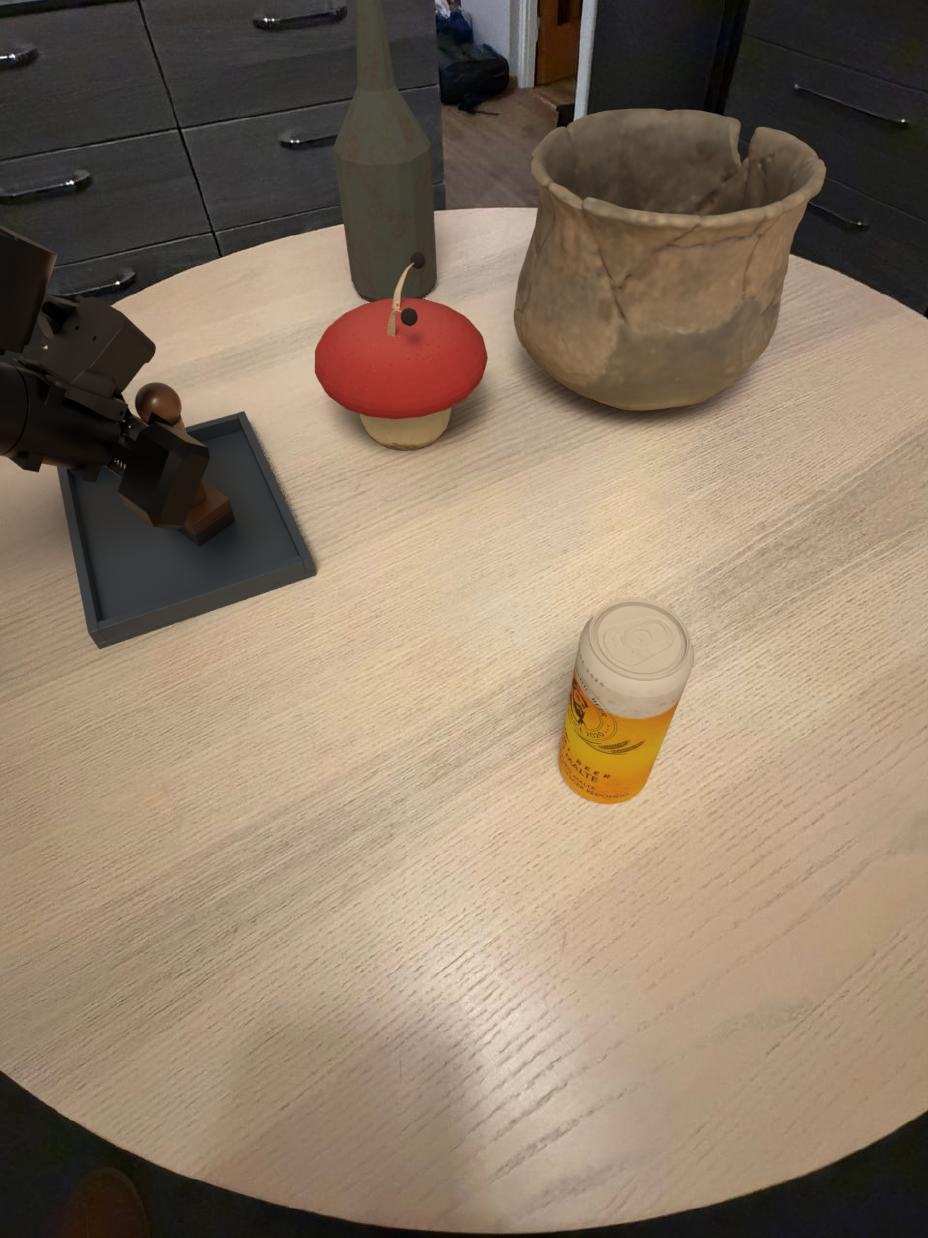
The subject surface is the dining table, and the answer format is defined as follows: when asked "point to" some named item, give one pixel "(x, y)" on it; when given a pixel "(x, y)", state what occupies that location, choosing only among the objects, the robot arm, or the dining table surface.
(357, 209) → the bottle
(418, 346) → the mushroom
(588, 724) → the beer can
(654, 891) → the dining table surface
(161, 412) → the wooden ball stamp
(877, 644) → the dining table surface
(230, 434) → the tray
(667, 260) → the pot
